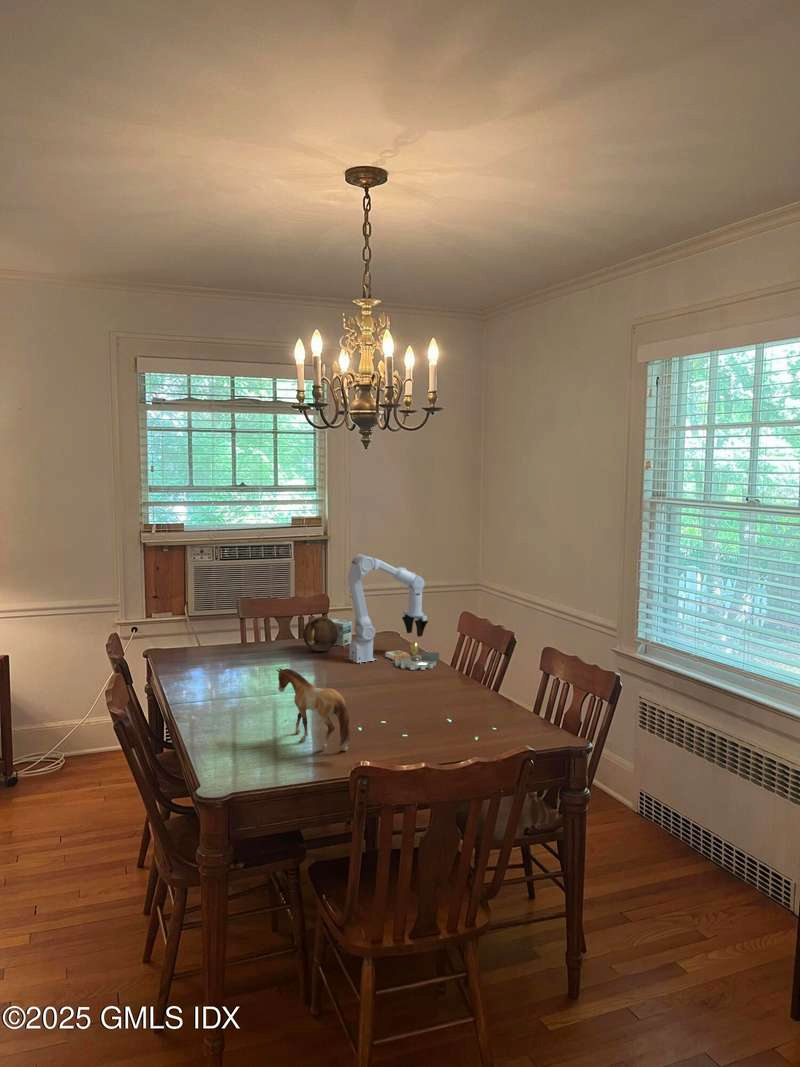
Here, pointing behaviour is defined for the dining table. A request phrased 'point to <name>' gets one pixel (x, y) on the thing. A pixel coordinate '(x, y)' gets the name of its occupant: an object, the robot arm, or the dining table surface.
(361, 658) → the robot arm
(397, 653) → the square open frame
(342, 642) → the light bulb box
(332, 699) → the horse figurine
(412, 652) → the brass pin
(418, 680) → the dining table surface
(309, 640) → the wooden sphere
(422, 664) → the sprocket
